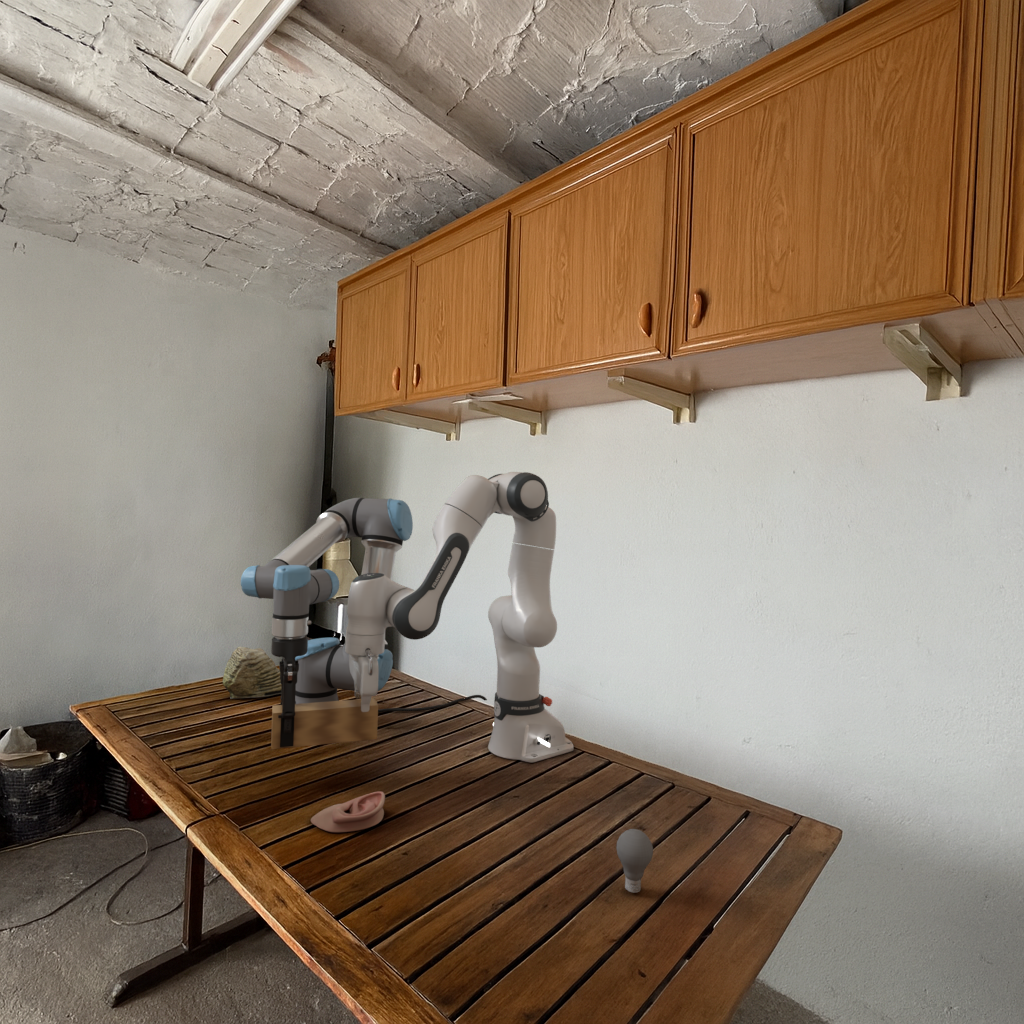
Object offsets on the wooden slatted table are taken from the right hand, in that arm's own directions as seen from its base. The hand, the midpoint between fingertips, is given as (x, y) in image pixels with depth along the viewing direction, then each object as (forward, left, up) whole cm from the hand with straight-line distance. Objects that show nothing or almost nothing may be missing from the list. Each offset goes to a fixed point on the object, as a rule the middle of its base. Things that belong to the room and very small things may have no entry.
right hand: (361, 704), depth 145 cm
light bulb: (-31, +61, -16) cm, 70 cm away
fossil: (+16, -68, -16) cm, 71 cm away
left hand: (+16, -2, -7) cm, 18 cm away
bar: (+8, -1, -8) cm, 11 cm away
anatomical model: (+7, +19, -16) cm, 26 cm away
